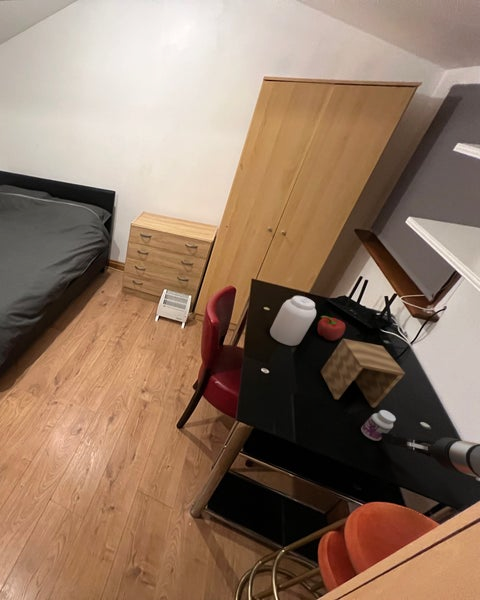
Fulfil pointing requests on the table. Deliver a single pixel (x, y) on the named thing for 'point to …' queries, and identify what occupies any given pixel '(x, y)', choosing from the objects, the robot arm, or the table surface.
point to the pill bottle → (378, 425)
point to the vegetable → (330, 328)
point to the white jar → (293, 320)
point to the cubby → (361, 370)
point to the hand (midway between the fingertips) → (384, 437)
